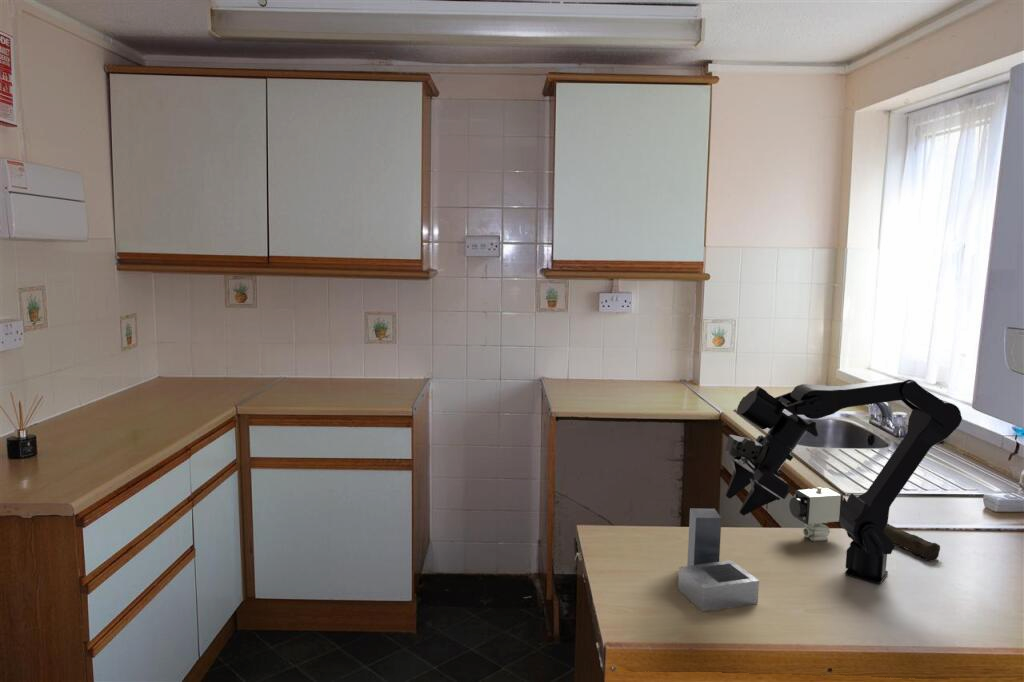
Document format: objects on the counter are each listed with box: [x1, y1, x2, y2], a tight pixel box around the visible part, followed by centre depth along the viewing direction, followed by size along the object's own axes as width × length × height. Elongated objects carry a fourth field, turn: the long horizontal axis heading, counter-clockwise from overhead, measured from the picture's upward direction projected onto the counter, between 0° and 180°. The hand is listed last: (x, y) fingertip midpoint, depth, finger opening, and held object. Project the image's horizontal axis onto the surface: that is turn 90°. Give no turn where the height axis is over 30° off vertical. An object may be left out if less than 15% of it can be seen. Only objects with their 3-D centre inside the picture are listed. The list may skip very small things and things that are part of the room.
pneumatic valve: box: [788, 486, 847, 543], centre depth 161 cm, size 6×12×12 cm, turn 101°
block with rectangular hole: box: [677, 559, 760, 613], centre depth 134 cm, size 12×9×4 cm
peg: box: [686, 507, 722, 566], centre depth 144 cm, size 5×5×12 cm
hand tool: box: [883, 523, 941, 562], centre depth 159 cm, size 19×4×5 cm, turn 19°
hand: (734, 505), depth 142 cm, fingers open, 9 cm apart
